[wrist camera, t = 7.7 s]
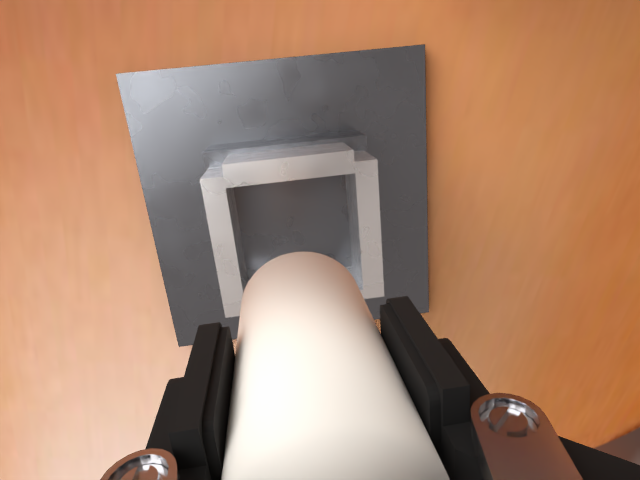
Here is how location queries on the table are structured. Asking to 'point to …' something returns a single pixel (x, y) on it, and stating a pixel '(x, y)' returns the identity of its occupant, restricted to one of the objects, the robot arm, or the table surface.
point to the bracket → (283, 174)
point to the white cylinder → (318, 384)
